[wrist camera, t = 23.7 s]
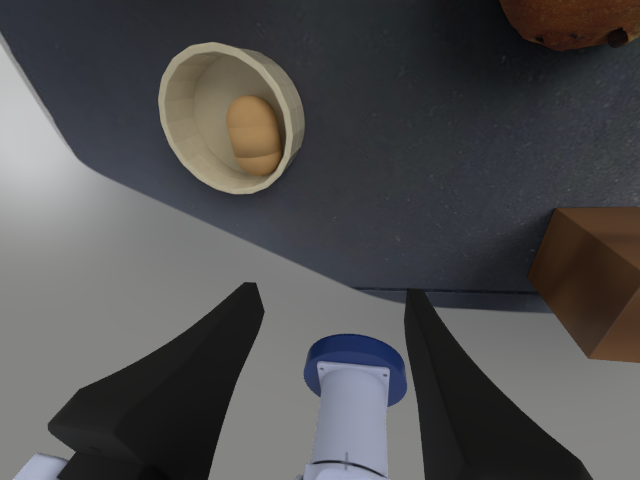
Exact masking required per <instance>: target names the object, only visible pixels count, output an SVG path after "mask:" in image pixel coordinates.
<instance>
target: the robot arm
mask: <svg viewBox="0 0 640 480" xmlns="http://www.w3.org/2000/svg"><path fill="white" fill-rule="evenodd" d="M264 312H265V311H264V308H263V304H262V301H261V298H260V295H259V291H258V288H257V284H256V283H251V282H250V283H249V282H245V283H243V284H242V285H241V286H240V287H238V288H237V289H236V290H235V291H234V292H233V293H232V294H230V295H229V296H228V297H227V298H226V299H225V300H223V301H222V302H221V303H220V304H219V305H218V306H217V307H215V308H214V309H213V310H212V311H211V312H209V313H208V314H207V315H206V316H204V317H203V318H202V319H201V320H199V321H198V322H197V323H196V324H194V325H193V326H192V327H190V328H189V329H188V330H186V331H185V332H184V333H182V334H181V335H179V336H178V337H176V338H175V339H173V340H172V341H170V342H169V343H167V344H166V345H164V346H162V347H161V348H159V349H157V350H156V351H154V352H152V353H151V354H149V355H148V356H146V357H144V358H142V359H140V360H139V361H137V362H135V363H133V364H131V365H129V366H127V367H126V368H124V369H122V370H120V371H118V372H116V373H114V374H112V375H110V376H108V377H105V378H103V379H101V380H99V381H97V382H95V383H92V384H90V385H88V386H86V387H83V388H81V389H79V390H78V391H77V392H76V394H75V395H74V396H73V397H72V398H71V399H70V400H69V401H68V402H67V404H66V405H65V406H64V407H63V408H62V409H61V410H60V411H59V412H58V413H57V414H56V415H55V416H54V417H53V419H52V420H51V421H50V422H49V423H48V430H49V431H50V433H51V434H52V435H54V436H55V437H56V438H57V439H59V440H60V441H62V442H63V443H64V444H66V445H67V446H69V447H70V448H71V449H73V450H74V451H76V453H75V454H74V455H73V457H72V458H71V459H70V461H68V460H66V459H64V458H60V457H56V456H51V455H46V454H42V453H37V454H35V455H34V456H33V457H32V458H31V459H30V461H28V463H27V464H26V465H25V466H24V467H23V468H22V469H21V471H20V472H19V473H18V474H17V475H16V476H15V477H14V479H13V480H208V477H209V473H210V468H211V465H212V461H213V456H214V453H215V449H216V445H217V442H218V439H219V435H220V432H221V428H222V425H223V421H224V418H225V415H226V412H227V409H228V406H229V402H230V399H231V396H232V394H233V391H234V388H235V385H236V382H237V380H238V377H239V374H240V372H241V370H242V368H243V366H244V363H245V361H246V359H247V356H248V354H249V352H250V350H251V348H252V345H253V343H254V341H255V339H256V336H257V334H258V332H259V329H260V326H261V323H262V319H263V315H264ZM404 325H405V338H406V345H407V350H408V356H409V361H410V365H411V371H412V376H413V381H414V386H415V391H416V397H417V403H418V412H419V422H420V431H421V441H422V451H423V462H424V473H425V480H593V478H592V477H591V476H590V474H589V473H588V471H587V470H586V468H585V466H584V465H583V463H582V462H581V461H580V460H579V459H578V458H577V457H576V456H574V455H573V454H572V453H571V452H570V451H568V450H567V449H566V448H564V447H563V446H562V445H561V444H560V443H559V442H557V441H556V440H555V439H554V438H552V437H551V436H550V435H549V434H547V433H546V432H545V431H544V430H543V429H542V428H540V427H539V426H538V425H537V424H536V423H535V422H534V421H532V419H530V418H529V417H528V416H527V415H526V414H525V413H524V412H522V411H521V410H520V409H519V408H518V407H517V406H516V405H515V404H514V403H513V402H512V401H511V400H510V399H509V398H508V397H507V396H506V395H505V394H504V393H503V392H502V391H501V390H500V389H499V388H498V387H497V386H496V385H495V384H494V383H493V382H492V381H491V380H490V379H489V378H488V377H487V376H486V375H485V374H484V373H483V372H482V371H481V370H480V369H479V367H478V366H477V365H476V364H475V363H474V362H473V361H472V359H471V358H470V357H469V356H468V355H467V354H466V352H465V351H464V350H463V349H462V347H461V346H460V345H459V344H458V342H457V341H456V340H455V338H454V337H453V336H452V334H451V333H450V332H449V330H448V329H447V327H446V326H445V324H444V323H443V322H442V320H441V319H440V317H439V316H438V314H437V313H436V311H435V309H434V308H433V306H432V305H431V303H430V301H429V299H428V298H427V296H426V294H425V292H424V291H423V290H422V289H407V297H406V307H405V317H404ZM317 369H318V375H319V380H320V386H321V397H320V404H319V411H318V416H317V423H316V430H315V436H314V442H313V448H312V454H311V461H310V464H305V470H304V476H303V475H298V476H296V478H295V479H294V480H390V478H388V455H387V432H386V431H387V430H386V413H387V404H388V390H389V376H390V370H389V368H387V367H380V366H370V365H359V364H349V363H338V362H328V361H318V362H317Z"/></svg>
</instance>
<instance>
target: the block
mask: <svg viewBox="0 0 640 480" xmlns="http://www.w3.org/2000/svg"><path fill="white" fill-rule="evenodd" d="M527 278H528V280H529V281H530V282H531V283H532V285H533V286H534V287H535V289H536V290H537V291H538V293H539V294H540V295H541V297H542V298H543V299H544V301H545V302H546V303H547V305H548V306H549V307H550V309H551V310H552V311H553V313H554V314H555V315H556V316H557V318H558V319H559V321H560V322H561V323H562V325H563V326H564V327H565V329H566V330H567V331H568V333H569V334H570V335H571V337H572V338H573V339H574V340H575V342H576V343H577V344H578V346H579V347H580V348H581V350H582V351H583V352H584V354H585V355H586V356H587V358H589V359H597V360H610V361H623V362H635V363H640V208H639V207H591V208H555V210H554V213H553V215H552V218H551V220H550V223H549V225H548V227H547V230H546V232H545V235H544V237H543V240H542V242H541V244H540V247H539V249H538V252H537V254H536V257H535V259H534V261H533V264H532V266H531V269H530V271H529V274H528V276H527Z"/></svg>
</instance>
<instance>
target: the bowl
mask: <svg viewBox="0 0 640 480" xmlns="http://www.w3.org/2000/svg"><path fill="white" fill-rule="evenodd" d="M244 95H254V96H258V97H260V98H262V99H264V100H265V101H266V102H267V103H268V104H269V105H270V106H271V107H272V109H273V110H274V113H275V115H276V119H277V123H278V129H279V135H280V141H281V147H282V158H281V161H280V164H279V165H278V167H277V168H276V169H275V170H274V171H273V172H271V173H270V174H267V175H263V176H256V175H252V174H250V173H247V172H246V171H245V170H243V169H242V168H241V167H240V166H239V164H238V162H237V161H236V158H235V156H234V152H233V148H232V144H231V140H230V137H229V133H228V129H227V124H226V114H227V110H228V108H229V106H230V105H231V103H232V102H233V101H234V100H235V99H237V98H238V97H240V96H244ZM158 103H159V111H160V119H161V124H162V127H163V130H164V132H165V135H166V137H167V140H168V143H169V145H170V147H171V148H172V150H173V151H174V153H175V154H176V156H177V157H178V159H179V160H180V161H181V163H182V164H183V165H184V166H185V167H186V168H187V169H188V170H189V171H190V172H191V173H192V174H193V175H194V176H195V177H196V178H198V179H199V180H201V181H202V182H204V183H206V184H207V185H209V186H211V187H213V188H214V189H217V190H220V191H224V192H228V193H231V194H251V193H255V192H257V191H260V190H262V189H265V188H267V187H269V186H270V185H271V184H272V183H273V182H274V181H275V180H276V179H278V178H279V177H280V176H281V175H282V174H283V172H284V171H285V170H286V169H287V168H288V167H289V166H290V164H291V163H292V162H293V161H294V159H295V157H296V156H297V154H298V152H299V150H300V148H301V144H302V141H303V137H304V129H305V120H304V111H303V106H302V103H301V99H300V97H299V94H298V92H297V89H296V88H295V86H294V84H293V82H292V81H291V79H290V78H289V76H288V75H287V74H286V73H285V71H284V70H283V69H282V68H281V67H280V66H279V65H278V64H276V63H275V62H274V61H273V60H271V59H270V58H268V57H267V56H265V55H263V54H261V53H260V52H257V51H253V50H250V49H246V48H242V47H238V46H233V45H227V44H222V43H217V42H210V43H203V44H197V45H192V46H189V47H188V48H187V49H185V50H184V51H182V52H181V53H179V54H178V55H177V56H175V57H174V58H173V59H172V61H171V62H170V64H169V66H168V67H167V69H166V71H165V73H164V74H163V76H162V80H161V85H160V91H159V97H158Z"/></svg>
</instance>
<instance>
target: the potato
mask: <svg viewBox="0 0 640 480" xmlns="http://www.w3.org/2000/svg"><path fill="white" fill-rule="evenodd" d="M226 124H227V129H228V133H229V137H230V140H231V144H232V148H233V152H234V156H235V158H236V161H237V162H238V164H239V166H240V167H241V168H242V169H243V170H245V171H246V172H247V173H250V174H252V175H256V176H263V175H267V174H270V173H271V172H273V171H274V170H275V169H276V168H277V167H278V165H279V164H280V161H281V158H282V147H281V141H280V135H279V129H278V123H277V119H276V115H275V113H274V110H273V109H272V107H271V106H270V105H269V104H268V103H267V102H266V101H265V100H264V99H262V98H260V97H258V96H254V95H244V96H240V97H238V98H237V99H235V100H234V101H233V102H232V103H231V105H230V106H229V108H228V110H227V114H226Z"/></svg>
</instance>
